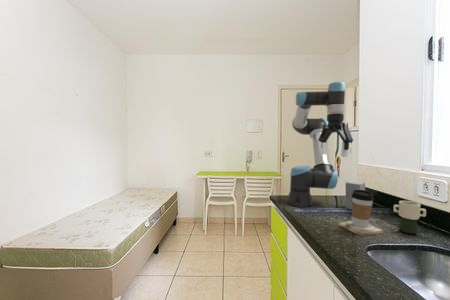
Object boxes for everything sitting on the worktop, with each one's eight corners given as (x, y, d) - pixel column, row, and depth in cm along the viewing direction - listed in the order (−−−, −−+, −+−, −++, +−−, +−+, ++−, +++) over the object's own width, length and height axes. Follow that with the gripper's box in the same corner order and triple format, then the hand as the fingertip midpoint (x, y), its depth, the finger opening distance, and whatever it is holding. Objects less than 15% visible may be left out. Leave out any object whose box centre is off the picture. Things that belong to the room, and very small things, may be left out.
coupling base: (338, 225, 102) (338, 221, 102) (358, 222, 105) (358, 218, 105) (361, 236, 90) (361, 231, 90) (382, 233, 94) (383, 228, 93)
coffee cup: (369, 223, 99) (372, 191, 98) (372, 230, 92) (376, 196, 90) (348, 219, 103) (351, 188, 101) (350, 226, 95) (352, 193, 94)
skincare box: (365, 210, 124) (366, 182, 124) (359, 212, 120) (360, 184, 120) (350, 206, 131) (351, 180, 131) (344, 208, 127) (345, 181, 127)
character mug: (423, 232, 95) (425, 203, 94) (426, 238, 89) (428, 207, 88) (391, 226, 101) (393, 198, 100) (392, 231, 95) (394, 202, 95)
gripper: (312, 115, 121) (311, 153, 122) (350, 110, 97) (347, 157, 98) (323, 116, 123) (322, 153, 124) (363, 111, 99) (360, 157, 100)
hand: (333, 155), depth 111 cm, fingers open, 13 cm apart
